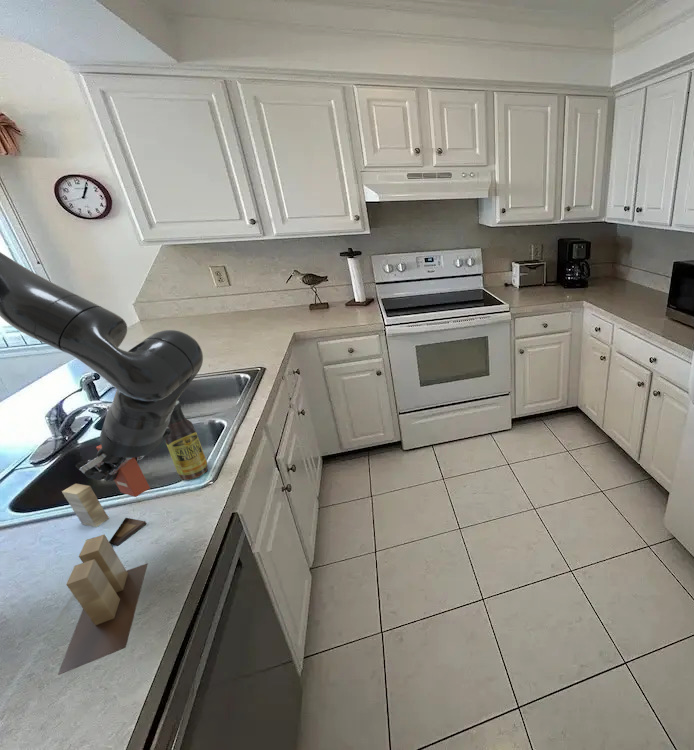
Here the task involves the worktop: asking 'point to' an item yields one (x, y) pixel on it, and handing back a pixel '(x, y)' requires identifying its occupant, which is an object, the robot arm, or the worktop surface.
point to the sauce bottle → (185, 446)
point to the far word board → (97, 512)
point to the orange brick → (130, 478)
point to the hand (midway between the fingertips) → (118, 470)
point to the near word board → (106, 631)
